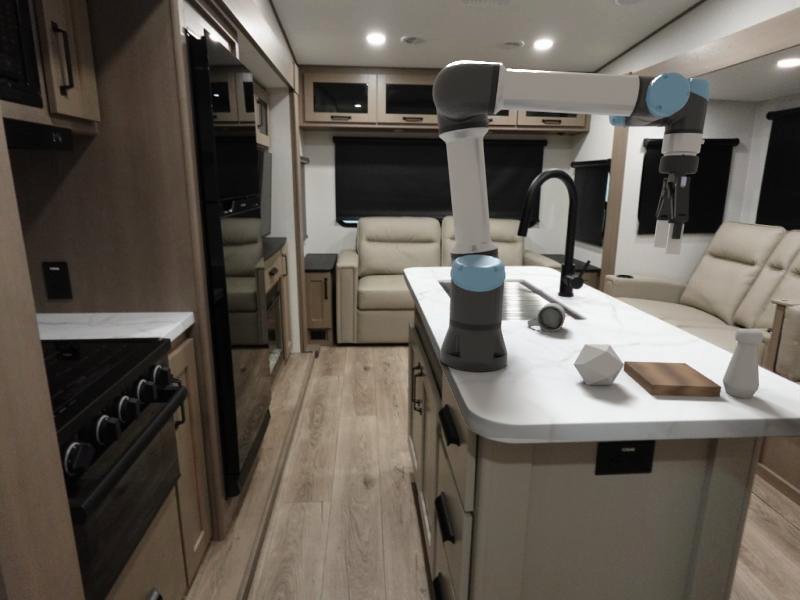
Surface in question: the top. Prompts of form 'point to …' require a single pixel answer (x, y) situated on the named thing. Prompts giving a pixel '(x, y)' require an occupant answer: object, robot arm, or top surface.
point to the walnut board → (671, 379)
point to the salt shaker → (744, 365)
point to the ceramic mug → (549, 317)
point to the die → (598, 364)
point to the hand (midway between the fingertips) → (665, 250)
